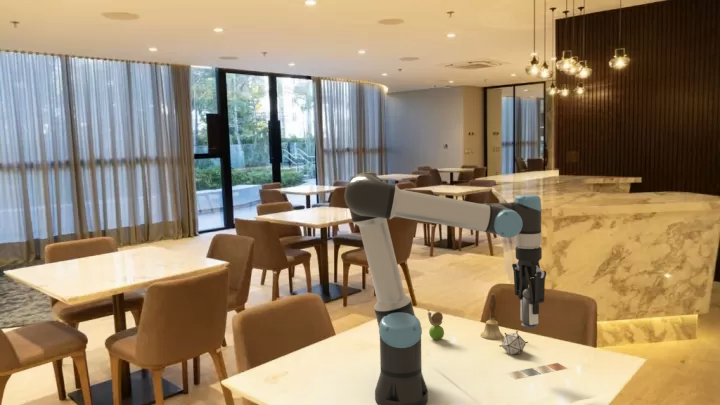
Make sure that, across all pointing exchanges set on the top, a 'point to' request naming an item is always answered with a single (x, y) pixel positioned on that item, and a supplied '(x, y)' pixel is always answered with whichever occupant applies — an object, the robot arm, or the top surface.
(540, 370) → the track
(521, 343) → the game die
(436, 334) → the snail figurine
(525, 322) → the pawn
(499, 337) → the hand bell
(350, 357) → the top surface
